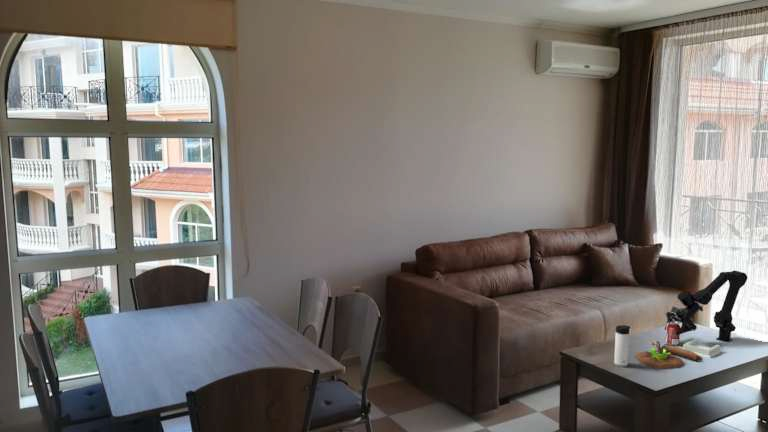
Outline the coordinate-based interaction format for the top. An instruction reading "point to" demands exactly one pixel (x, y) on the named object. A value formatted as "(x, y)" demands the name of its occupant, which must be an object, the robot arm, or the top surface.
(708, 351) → the can rack
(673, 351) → the sunglasses case
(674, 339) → the soda can
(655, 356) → the plant
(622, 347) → the travel mug
